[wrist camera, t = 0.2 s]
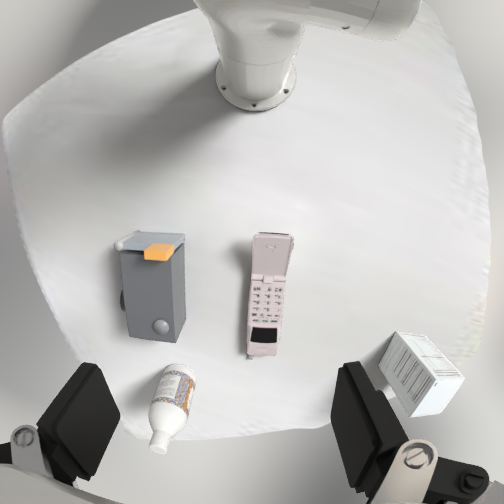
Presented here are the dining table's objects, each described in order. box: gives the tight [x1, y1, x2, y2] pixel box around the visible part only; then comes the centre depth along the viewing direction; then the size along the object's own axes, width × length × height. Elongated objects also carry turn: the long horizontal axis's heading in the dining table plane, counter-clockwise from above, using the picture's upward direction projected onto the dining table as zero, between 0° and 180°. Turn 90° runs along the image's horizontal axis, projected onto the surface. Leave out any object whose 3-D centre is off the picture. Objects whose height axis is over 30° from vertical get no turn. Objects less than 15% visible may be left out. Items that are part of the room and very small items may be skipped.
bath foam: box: [149, 364, 196, 455], centre depth 43 cm, size 7×7×20 cm
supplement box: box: [378, 331, 465, 417], centre depth 43 cm, size 10×9×17 cm
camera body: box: [120, 243, 186, 343], centre depth 42 cm, size 14×10×9 cm
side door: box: [114, 231, 185, 261], centre depth 39 cm, size 1×9×11 cm, turn 87°
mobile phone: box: [246, 233, 294, 360], centre depth 45 cm, size 6×6×25 cm
